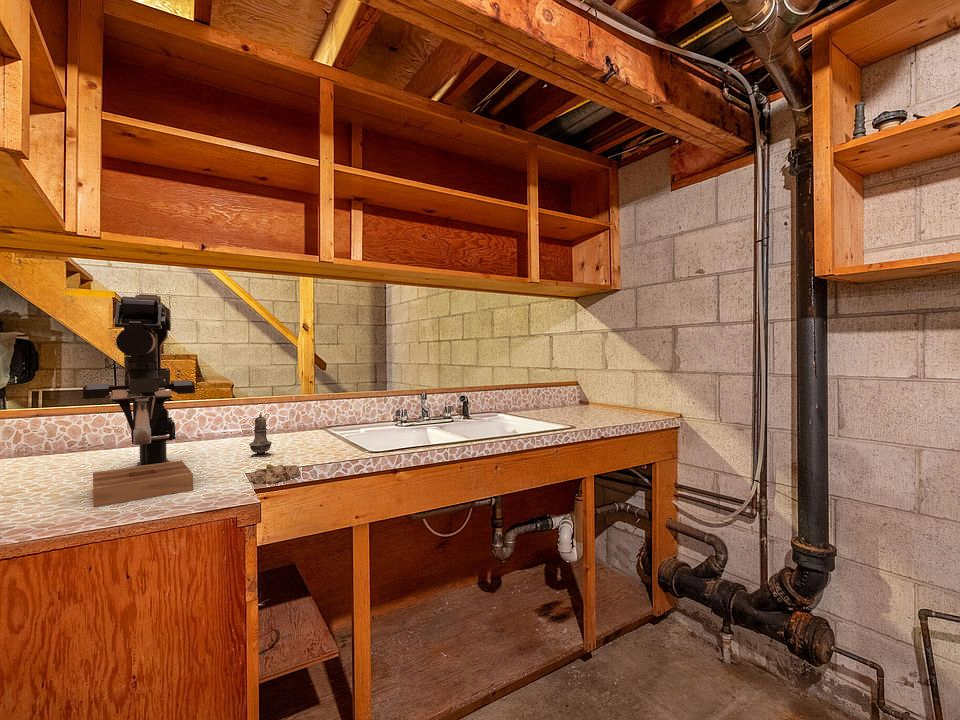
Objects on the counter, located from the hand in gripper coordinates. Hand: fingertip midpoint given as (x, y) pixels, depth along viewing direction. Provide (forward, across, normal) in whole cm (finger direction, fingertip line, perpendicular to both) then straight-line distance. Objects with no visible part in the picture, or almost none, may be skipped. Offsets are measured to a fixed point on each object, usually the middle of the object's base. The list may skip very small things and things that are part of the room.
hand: (142, 429), depth 96 cm
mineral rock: (+13, +24, -11) cm, 29 cm away
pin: (+3, 0, 0) cm, 3 cm away
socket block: (+13, 0, 0) cm, 13 cm away
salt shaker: (+13, +28, +17) cm, 35 cm away
